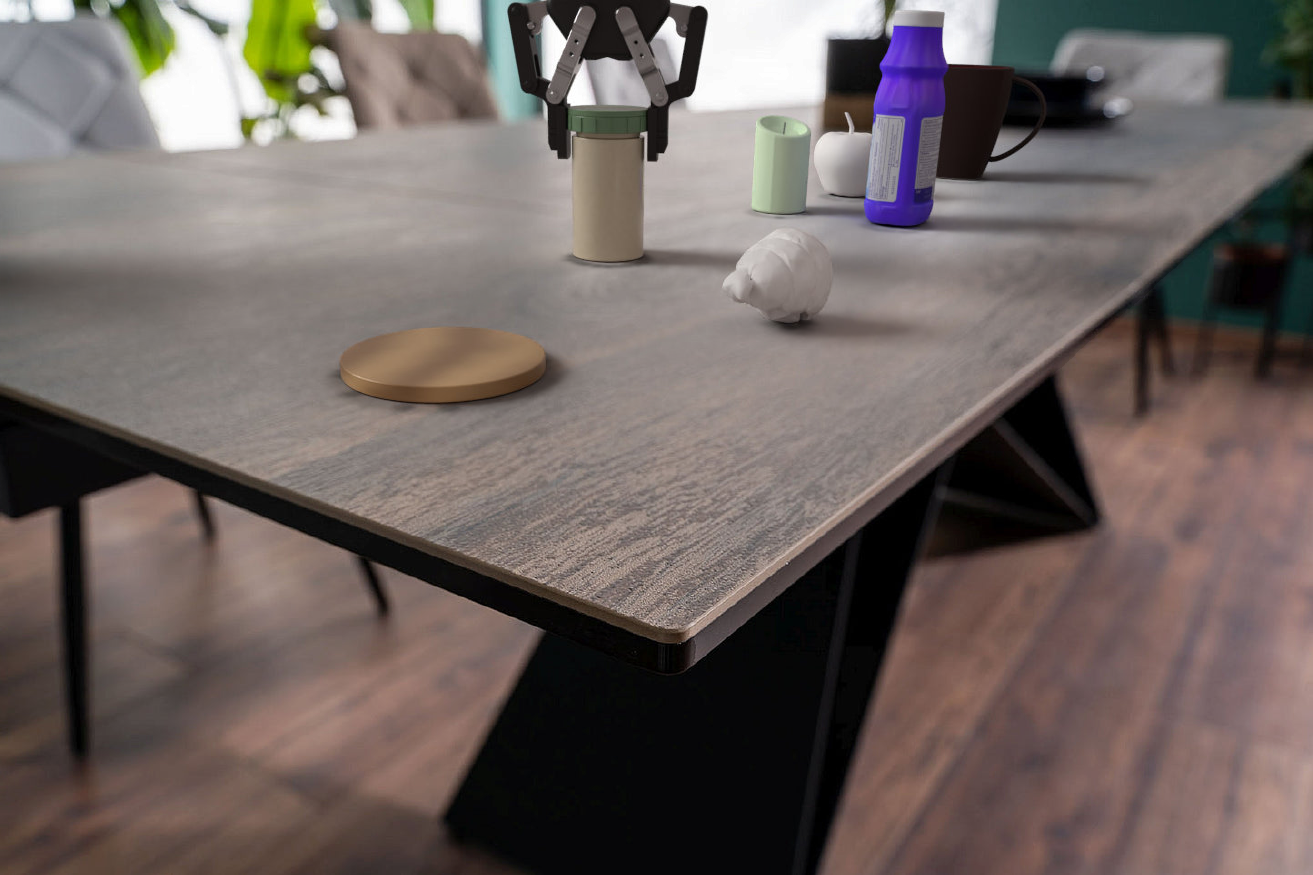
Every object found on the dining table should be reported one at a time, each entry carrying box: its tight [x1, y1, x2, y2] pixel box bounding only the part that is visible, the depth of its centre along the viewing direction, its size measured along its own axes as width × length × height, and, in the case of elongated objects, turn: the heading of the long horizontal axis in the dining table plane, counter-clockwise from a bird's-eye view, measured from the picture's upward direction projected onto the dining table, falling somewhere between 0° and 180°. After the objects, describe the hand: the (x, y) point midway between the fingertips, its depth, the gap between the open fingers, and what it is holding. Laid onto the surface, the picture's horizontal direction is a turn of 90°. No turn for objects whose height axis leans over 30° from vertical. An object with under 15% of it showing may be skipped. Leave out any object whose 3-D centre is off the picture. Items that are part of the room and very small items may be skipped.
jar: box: [571, 132, 646, 263], centre depth 78 cm, size 5×5×10 cm
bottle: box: [863, 9, 949, 227], centre depth 92 cm, size 7×6×17 cm
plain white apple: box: [813, 111, 872, 198], centre depth 108 cm, size 7×7×8 cm
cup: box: [936, 63, 1047, 181], centre depth 121 cm, size 10×14×12 cm
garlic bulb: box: [722, 227, 834, 324], centre depth 62 cm, size 6×6×5 cm
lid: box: [567, 104, 648, 134], centre depth 76 cm, size 6×6×2 cm
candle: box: [750, 114, 812, 215], centre depth 98 cm, size 5×5×8 cm
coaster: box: [339, 326, 547, 404], centre depth 54 cm, size 10×10×1 cm
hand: (608, 158), depth 77 cm, fingers closed on lid, 5 cm apart
